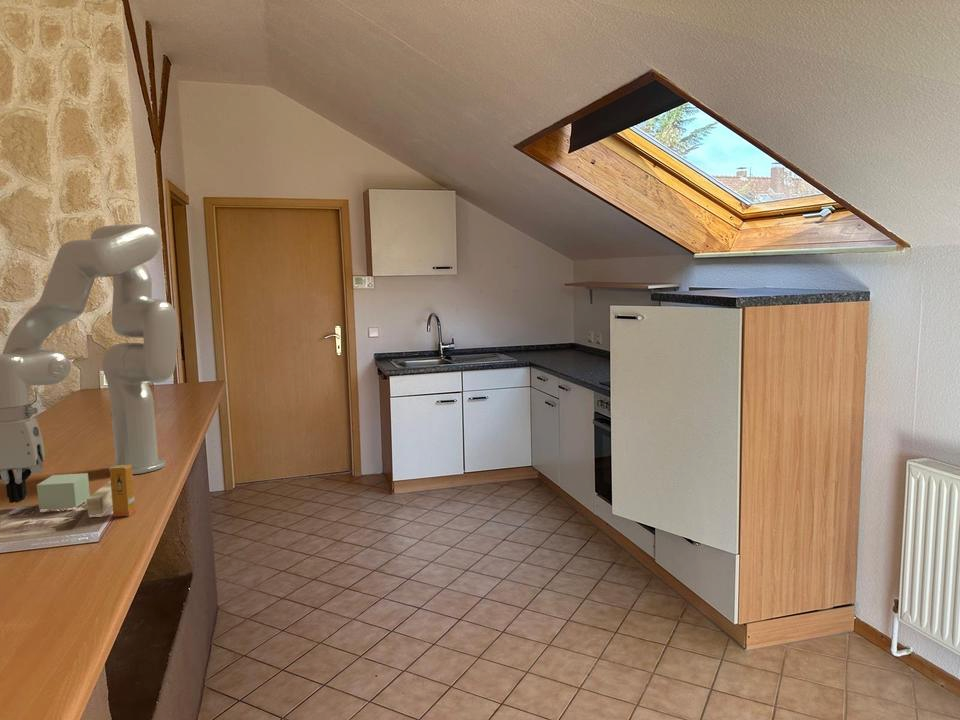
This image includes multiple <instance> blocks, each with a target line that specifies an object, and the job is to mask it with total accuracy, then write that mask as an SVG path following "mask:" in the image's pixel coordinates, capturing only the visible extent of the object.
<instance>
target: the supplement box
mask: <svg viewBox="0 0 960 720" xmlns="http://www.w3.org/2000/svg"><path fill="white" fill-rule="evenodd" d="M109 478H110V480H111V492H112V504H113V508H112V515H113V517H115V518H117V517H130V516H131V515H133V514H135V513H136V511H137V509H136V500H135V499H136V498H135V489H134V474H132V465H116V466H114V467H111V468H110V472H109Z"/></svg>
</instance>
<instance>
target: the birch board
mask: <svg viewBox="0 0 960 720" xmlns="http://www.w3.org/2000/svg"><path fill="white" fill-rule="evenodd" d="M86 505H87V506H86V507H87V515H96V514H102V513H103V512H104V511H105V510H106V509H107V508H109V507H110V506H111V505H112V492H111V479H110V480H109V481H108V482H106V483H105V484H104V485H102V487H100V488H99V489H98V490H96V491H95V492H94V493H92V494H90V497H88V498H87V502H86Z"/></svg>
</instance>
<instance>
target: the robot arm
mask: <svg viewBox="0 0 960 720" xmlns="http://www.w3.org/2000/svg"><path fill="white" fill-rule="evenodd" d="M160 246H161V239H160V237H159V234H158V233H157V232H156V231H155V230H154V229H153V228H152V227H150V226H149V225H147V224H138V223H137V224H136V223H135V224H115V225H105V226H99V227H98V228H96V229H95V230H93V231H92V233H91V235H90V239H75V240H69V241H67V242H65V243H63V244H62V245H61V246H60V247H59V249H58V251H57V254H56V256H55V259H54V261H53V264H52V266H51V269H50V273H49V274H48V277H47V280H46V283H45V286H44V288H43V291H42V294H41V296H40V299H38V301H37V302H36V303H35V304H34V305H33V306H32V307H31V308H30V309H28V310H27V312H26V313H25V314H24V315H23V317H21V318H20V319H19V321H18V322H17V323H16V324H15V325H14V326H13V328H12V329H11V331H10V332H9V333H10V334H9V335H8V338H7V339H6V340H7V341H6V342H5V345H4V348H3V351H2V353H0V480H1V482H2V484H4V485H5V488H6V497H7V499H8V503H9V504H12V503H15V504H17V503H20V502H22V501H23V500H25V499H26V496H27V494H28V493H27V483H26V480H28V478H29V477H30V476H32V475H34V474H37V473H40V472H42V471H43V470H44V469H45V467H44V465H43V462H44V461H45V460H46V453H45V446H44V441H43V440H44V439H43V436H42V432H41V428H40V426H39V423H38V421H37V417H32V416H33V415H37V414H38V408H37V407H32V403H31V401H30V399H31V398H30V390H29V387H31V386H52V385H56V384H59V383H61V382H63V381H64V380H65V379H67V378H68V376H69V375H70V373H71V369H72V368H71V366H72V365H71V362H70V359H69V358H68V357H67V356H66V355H65V354H64V353H62V352H59V351H57V350H54V349H53V350H52V349H41V348H42V346H43V343H44V342H45V340H46V339H47V338H48V337H49V336H50V335H51V334H52V333H53V332H54V331H56V330H57V329H58V328H60V327H62V326H64V325H67V324H68V323H70V322H72V321H73V320H75V319H76V318H78V317H80V316H81V315H82V314H83V313H84V311H85V309H86V306H87V303H88V299H89V297H90V294H91V291H92V289H93V284H94V283H95V280H96V278H109V277H110V278H111V277H112V283H113V284H112V286H113V288H112V289H113V290H112V303H111V306H112V308H111V325H112V327H111V328H112V329H113V331H114V332H115V334H117V335H118V336H121V337H125V338H135V339H137V338H138V339H143V343H142V342H141V343H140V342H138V343H137V342H123V343H117V344H114V345H112V346H110V347H109V348H107V349H106V350H105V352H104V354H103V355H102V361H101V365H102V366H101V368H102V372H103V375H104V378H105V381H106V384H107V389H108V394H109V403H110V413H111V414H110V415H111V425H112V426H111V427H112V436H113V437H112V438H113V448H114V458H115V459H114V460H115V462H114V463H112V464H111V465H110V466H109V467H108V471H109V473H110V468H111V467H114V466H116V465H132V475H138V474H139V475H140V474H144V473H145V474H146V473H149V472H154V471H156V470H159V469H162V468H163V467H164V466H165V465H166V460H165V459H164V458H162V457H159V456H158V443H157V431H156V430H157V429H156V419H155V403H154V395H153V391H152V390H151V387H150V386H149V384H150V383H151V384H158V383H163V382H166V381H168V380H169V379H170V378H171V377H172V375H173V374H174V372H175V369H176V366H177V365H176V364H177V355H178V354H177V353H178V352H177V351H178V338H179V336H178V335H179V319H178V314H177V311H176V310H175V308H174V306H173V305H172V304H171V303H169V302H168V301H167V300H164V299H159V298H153V297H152V296H153V295H152V293H153V289H152V288H153V287H152V286H153V285H152V283H153V282H152V277H151V274H150V271H149V269H148V268H147V266H146V265H145V263H147V262H149V261H151V260H152V259H154V258H155V256H156V255H157V254H158V252H159V251H160ZM148 383H149V384H148ZM14 470H15V471H14Z"/></svg>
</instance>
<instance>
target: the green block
mask: <svg viewBox="0 0 960 720" xmlns="http://www.w3.org/2000/svg"><path fill="white" fill-rule="evenodd" d="M36 491H37V492H36V493H37V501H38V509H58V508H73V507H77V506H79V505H80V504H82V503H83V502H86V501H87V498H88V497H90V496H91V493H90V482H89V473H88V472H85V473H84V472H83V473H69V474H67V473H66V474H52V475H50V476H49V477H47V478H45V480H42V481H41V482H39V483H37V484H36ZM86 503H87V502H86Z"/></svg>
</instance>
